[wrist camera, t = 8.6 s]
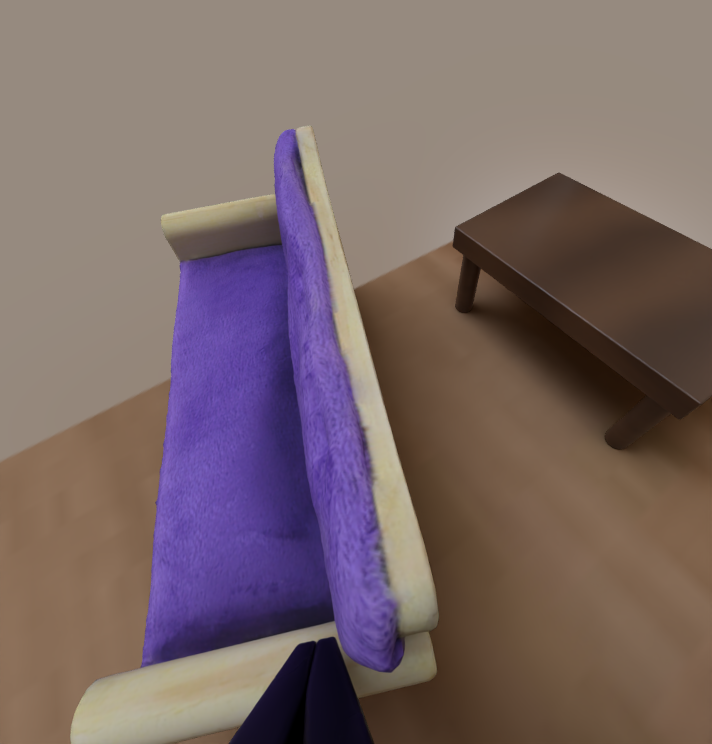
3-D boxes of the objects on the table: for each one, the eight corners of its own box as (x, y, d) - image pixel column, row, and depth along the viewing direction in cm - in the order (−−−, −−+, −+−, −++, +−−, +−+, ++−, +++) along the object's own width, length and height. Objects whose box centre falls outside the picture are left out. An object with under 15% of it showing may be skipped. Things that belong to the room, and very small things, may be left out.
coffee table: (719, 383, 18) (825, 305, 14) (619, 462, 17) (701, 404, 12) (529, 255, 24) (558, 171, 20) (444, 304, 23) (454, 226, 18)
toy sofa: (213, 301, 25) (115, 140, 17) (339, 274, 25) (306, 100, 17) (199, 710, 14) (-148, 871, 5) (432, 656, 14) (477, 723, 5)
